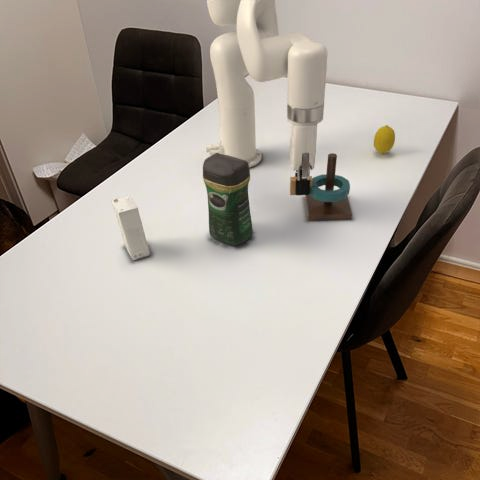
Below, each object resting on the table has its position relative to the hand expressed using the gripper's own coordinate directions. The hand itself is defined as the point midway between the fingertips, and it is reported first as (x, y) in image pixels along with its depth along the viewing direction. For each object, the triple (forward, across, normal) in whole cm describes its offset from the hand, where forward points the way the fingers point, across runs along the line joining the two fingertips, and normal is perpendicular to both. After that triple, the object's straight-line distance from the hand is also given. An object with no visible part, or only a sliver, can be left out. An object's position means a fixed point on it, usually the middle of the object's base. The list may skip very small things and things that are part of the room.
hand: (302, 191), depth 110 cm
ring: (0, 0, +4) cm, 4 cm away
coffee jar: (+5, +10, -17) cm, 20 cm away
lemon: (+5, -27, +24) cm, 37 cm away
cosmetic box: (+5, +15, -38) cm, 41 cm away
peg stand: (+5, 0, +6) cm, 8 cm away
